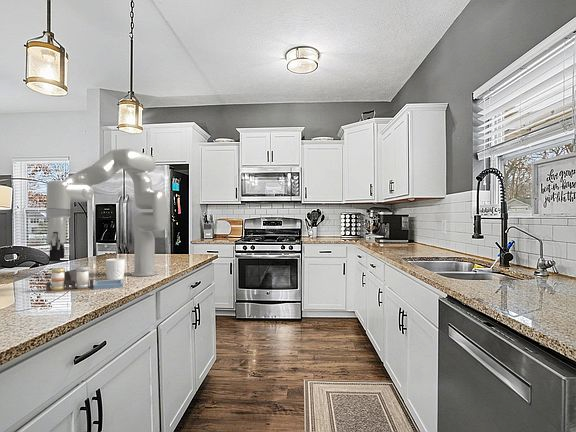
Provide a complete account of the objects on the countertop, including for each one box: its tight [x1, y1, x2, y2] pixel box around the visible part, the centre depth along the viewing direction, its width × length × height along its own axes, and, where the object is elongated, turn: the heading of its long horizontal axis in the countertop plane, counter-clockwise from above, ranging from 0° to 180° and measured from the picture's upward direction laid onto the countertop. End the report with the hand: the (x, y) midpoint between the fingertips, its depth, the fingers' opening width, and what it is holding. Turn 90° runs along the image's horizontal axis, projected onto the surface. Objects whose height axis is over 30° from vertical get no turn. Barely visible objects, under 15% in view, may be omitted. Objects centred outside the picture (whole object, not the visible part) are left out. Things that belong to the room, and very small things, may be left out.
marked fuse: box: [50, 267, 66, 291], centre depth 129 cm, size 4×4×8 cm
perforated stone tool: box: [64, 269, 77, 286], centre depth 145 cm, size 15×5×7 cm, turn 4°
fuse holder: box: [44, 278, 94, 294], centre depth 131 cm, size 10×15×4 cm, turn 116°
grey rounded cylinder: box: [75, 266, 90, 289], centre depth 133 cm, size 4×4×8 cm
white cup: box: [105, 257, 126, 280], centre depth 154 cm, size 8×8×10 cm
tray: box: [92, 278, 124, 291], centre depth 136 cm, size 10×10×3 cm
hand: (57, 259), depth 129 cm, fingers open, 9 cm apart
